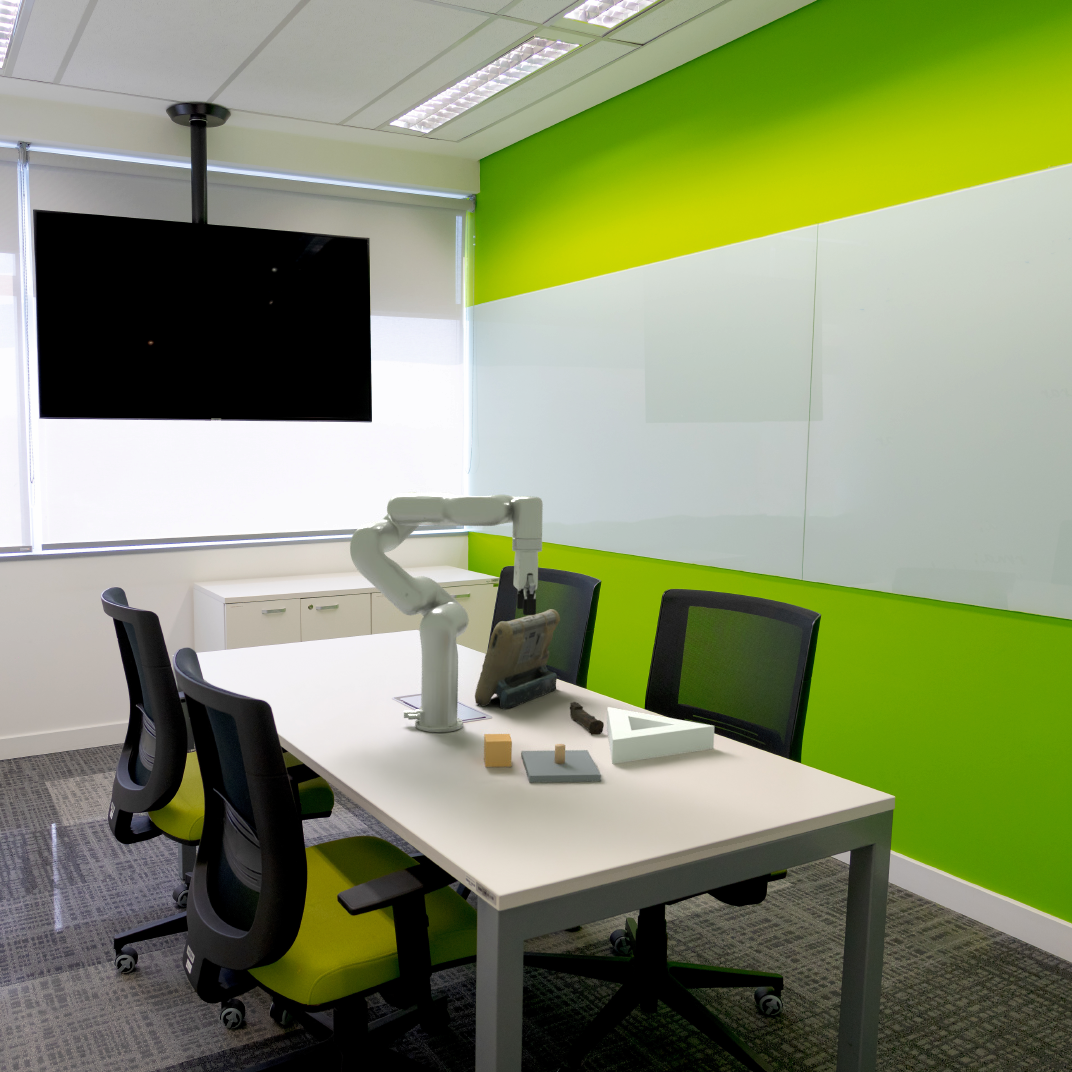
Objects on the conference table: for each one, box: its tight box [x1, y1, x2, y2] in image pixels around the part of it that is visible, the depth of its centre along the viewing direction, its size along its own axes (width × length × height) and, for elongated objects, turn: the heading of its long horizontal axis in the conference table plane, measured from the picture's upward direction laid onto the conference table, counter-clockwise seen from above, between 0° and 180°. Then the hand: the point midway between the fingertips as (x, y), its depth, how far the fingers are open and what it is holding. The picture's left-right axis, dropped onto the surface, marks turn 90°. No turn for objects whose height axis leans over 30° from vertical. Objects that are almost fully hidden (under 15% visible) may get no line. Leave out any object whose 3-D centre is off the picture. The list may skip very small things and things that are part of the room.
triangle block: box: [606, 706, 715, 765], centre depth 246 cm, size 30×26×6 cm
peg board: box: [520, 743, 602, 783], centre depth 226 cm, size 16×18×6 cm
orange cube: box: [483, 733, 513, 768], centre depth 230 cm, size 6×6×6 cm
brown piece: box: [569, 701, 605, 736], centre depth 264 cm, size 19×4×5 cm, turn 16°
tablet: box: [474, 608, 561, 710], centre depth 292 cm, size 33×14×25 cm, turn 155°
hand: (526, 611), depth 251 cm, fingers open, 9 cm apart
